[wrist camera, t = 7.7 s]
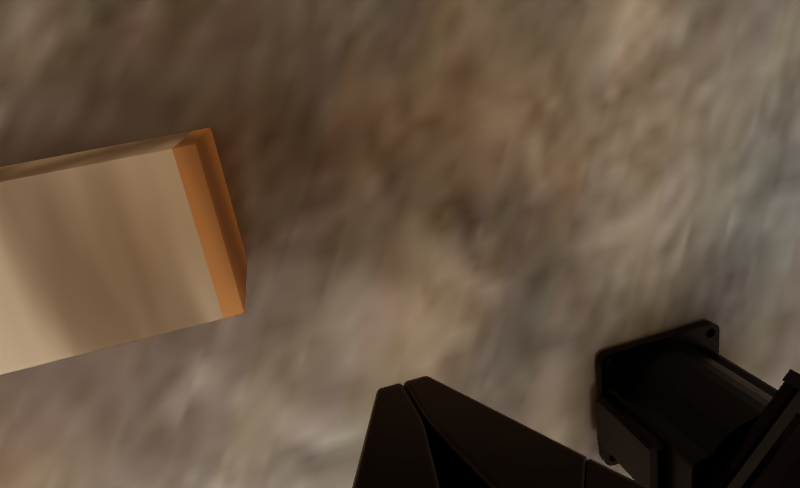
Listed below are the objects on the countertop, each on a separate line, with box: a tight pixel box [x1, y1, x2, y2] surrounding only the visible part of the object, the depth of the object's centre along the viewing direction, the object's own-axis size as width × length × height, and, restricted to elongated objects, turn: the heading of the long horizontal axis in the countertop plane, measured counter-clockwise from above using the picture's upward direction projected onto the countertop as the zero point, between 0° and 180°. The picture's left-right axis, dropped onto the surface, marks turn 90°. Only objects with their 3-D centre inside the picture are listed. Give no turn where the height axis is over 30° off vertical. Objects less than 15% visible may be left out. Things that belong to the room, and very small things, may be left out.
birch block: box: [0, 127, 247, 375], centre depth 17 cm, size 5×5×10 cm
